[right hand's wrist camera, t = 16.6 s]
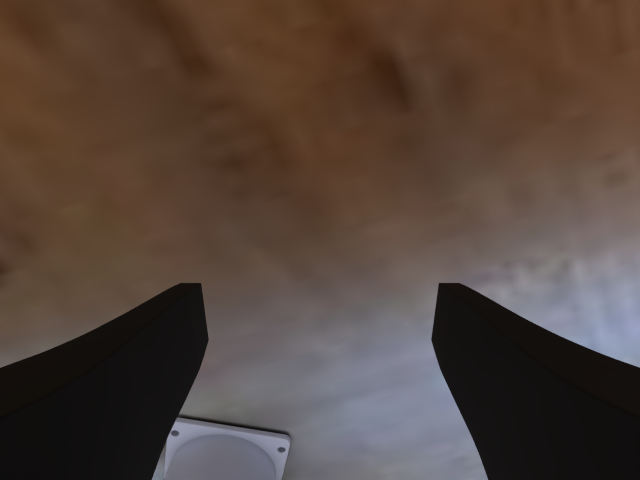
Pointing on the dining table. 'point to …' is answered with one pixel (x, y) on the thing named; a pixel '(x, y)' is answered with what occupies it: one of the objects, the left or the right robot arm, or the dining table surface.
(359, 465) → the dining table surface
